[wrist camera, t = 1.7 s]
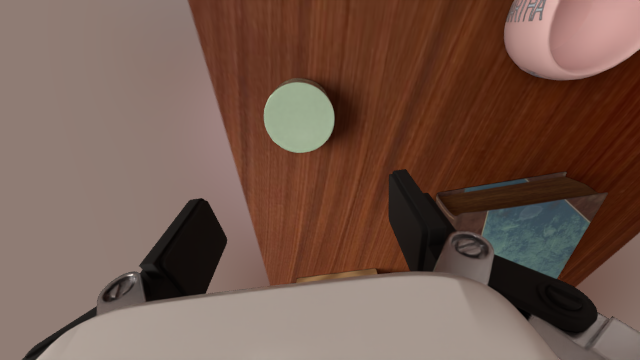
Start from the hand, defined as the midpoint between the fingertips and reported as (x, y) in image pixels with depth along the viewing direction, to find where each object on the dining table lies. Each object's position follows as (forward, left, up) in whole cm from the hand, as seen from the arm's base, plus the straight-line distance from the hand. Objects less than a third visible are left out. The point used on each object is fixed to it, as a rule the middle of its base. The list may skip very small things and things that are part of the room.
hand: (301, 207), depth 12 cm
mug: (+24, +6, -16) cm, 30 cm away
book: (+24, -24, -16) cm, 38 cm away
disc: (-1, +1, -16) cm, 16 cm away
